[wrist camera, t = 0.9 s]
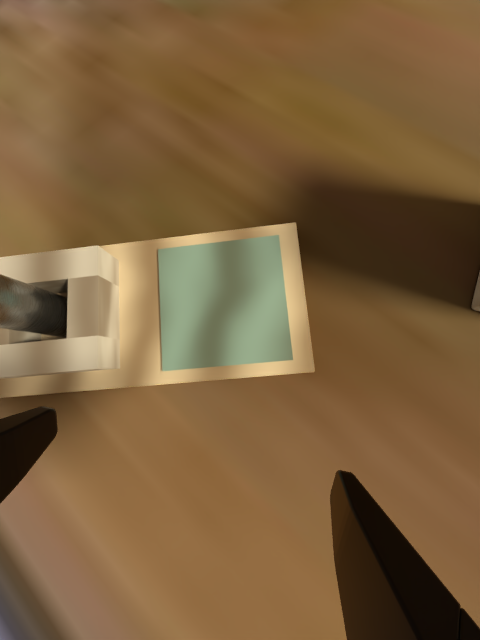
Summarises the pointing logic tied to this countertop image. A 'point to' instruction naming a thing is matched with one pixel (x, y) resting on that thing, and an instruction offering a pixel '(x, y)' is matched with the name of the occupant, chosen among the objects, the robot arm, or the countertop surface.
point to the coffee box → (476, 296)
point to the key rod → (31, 308)
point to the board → (163, 313)
